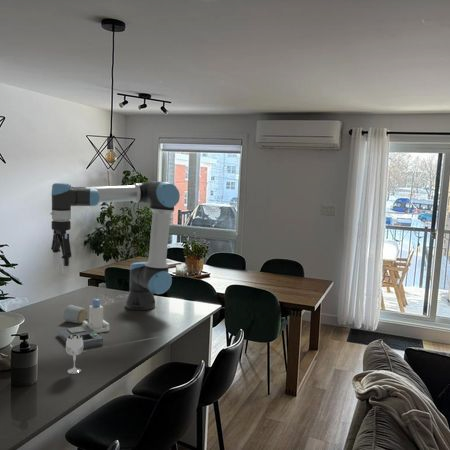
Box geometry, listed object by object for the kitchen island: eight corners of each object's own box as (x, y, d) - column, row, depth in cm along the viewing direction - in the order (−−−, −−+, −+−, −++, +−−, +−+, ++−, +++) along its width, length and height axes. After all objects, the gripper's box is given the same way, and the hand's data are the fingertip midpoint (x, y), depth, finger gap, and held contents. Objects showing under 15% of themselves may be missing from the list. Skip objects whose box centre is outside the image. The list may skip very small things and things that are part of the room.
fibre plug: (98, 326, 197) (99, 297, 196) (102, 329, 194) (103, 300, 192) (88, 328, 195) (89, 299, 193) (92, 331, 191) (93, 301, 190)
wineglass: (67, 367, 156) (68, 333, 155) (84, 367, 157) (85, 334, 156) (63, 374, 151) (63, 339, 149) (80, 374, 151) (81, 340, 150)
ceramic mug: (78, 326, 198) (79, 309, 198) (62, 323, 201) (63, 306, 200) (92, 320, 208) (93, 303, 208) (77, 317, 211) (78, 301, 210)
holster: (101, 325, 200) (101, 318, 200) (109, 332, 193) (109, 323, 193) (82, 328, 195) (82, 320, 195) (90, 335, 188) (90, 326, 188)
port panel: (86, 332, 192) (86, 324, 191) (102, 345, 177) (103, 337, 177) (57, 336, 185) (57, 328, 184) (72, 351, 170) (72, 342, 170)
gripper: (43, 217, 196) (43, 265, 198) (60, 223, 176) (60, 277, 178) (61, 217, 201) (61, 264, 203) (79, 223, 181) (79, 275, 183)
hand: (60, 270), depth 191 cm, fingers open, 13 cm apart
